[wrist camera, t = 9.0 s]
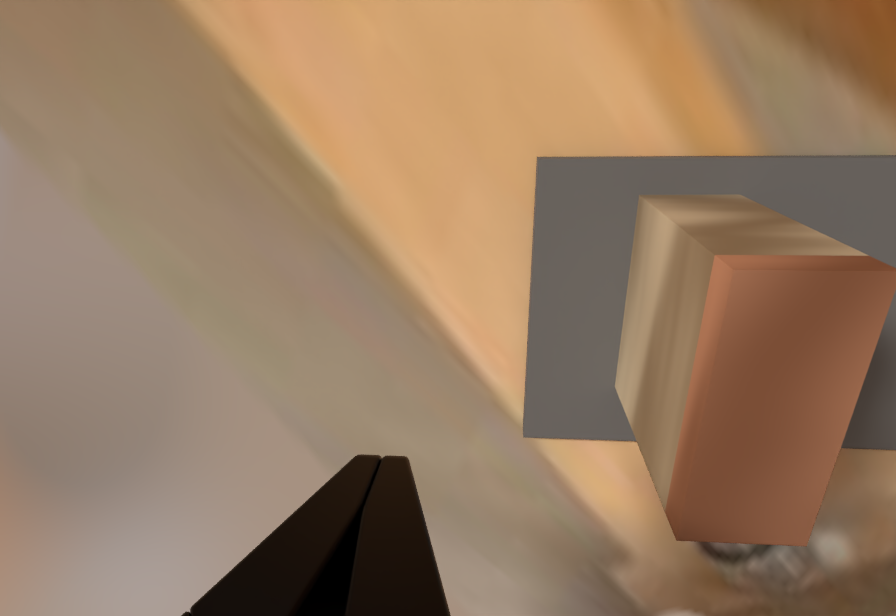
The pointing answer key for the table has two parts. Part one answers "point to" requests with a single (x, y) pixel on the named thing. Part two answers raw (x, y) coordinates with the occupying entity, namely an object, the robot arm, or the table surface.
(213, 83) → the table surface
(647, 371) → the birch block
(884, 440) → the felt mat
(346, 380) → the table surface
